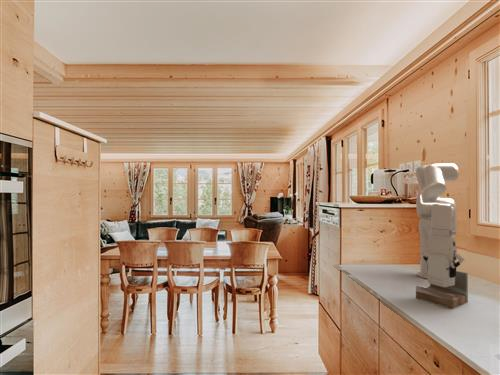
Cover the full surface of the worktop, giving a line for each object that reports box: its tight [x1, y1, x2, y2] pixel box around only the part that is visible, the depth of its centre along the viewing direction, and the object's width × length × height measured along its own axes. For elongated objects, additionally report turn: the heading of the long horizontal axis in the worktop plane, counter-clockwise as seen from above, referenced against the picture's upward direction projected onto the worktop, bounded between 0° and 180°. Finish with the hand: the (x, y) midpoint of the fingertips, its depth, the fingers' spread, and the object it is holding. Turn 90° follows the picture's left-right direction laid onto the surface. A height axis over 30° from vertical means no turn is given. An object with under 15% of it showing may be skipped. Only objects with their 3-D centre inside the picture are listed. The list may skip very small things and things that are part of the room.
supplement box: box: [427, 253, 455, 287], centre depth 128 cm, size 7×7×13 cm
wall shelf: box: [415, 269, 469, 309], centre depth 128 cm, size 14×14×12 cm
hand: (441, 274), depth 128 cm, fingers closed on supplement box, 7 cm apart
